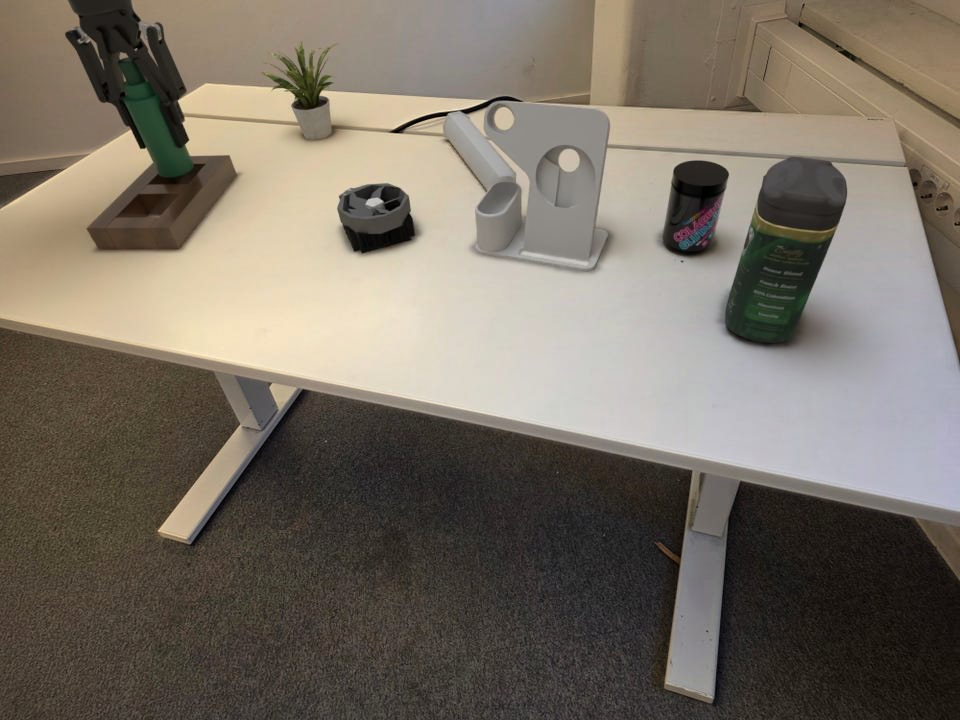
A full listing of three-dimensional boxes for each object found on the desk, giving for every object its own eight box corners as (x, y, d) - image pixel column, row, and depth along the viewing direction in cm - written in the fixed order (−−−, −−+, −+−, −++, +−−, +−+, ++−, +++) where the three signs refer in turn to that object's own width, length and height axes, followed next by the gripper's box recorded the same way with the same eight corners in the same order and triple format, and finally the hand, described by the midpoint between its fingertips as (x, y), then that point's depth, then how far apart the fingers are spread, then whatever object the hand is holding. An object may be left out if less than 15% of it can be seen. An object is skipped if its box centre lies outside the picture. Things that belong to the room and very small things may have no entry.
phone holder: (470, 253, 85) (459, 127, 72) (495, 216, 91) (489, 95, 79) (592, 274, 79) (602, 142, 67) (609, 233, 86) (622, 106, 74)
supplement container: (658, 253, 82) (670, 182, 75) (663, 227, 86) (675, 158, 79) (710, 260, 80) (728, 188, 73) (713, 232, 85) (730, 162, 77)
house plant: (334, 111, 125) (313, 24, 114) (372, 129, 117) (355, 38, 106) (272, 135, 118) (244, 45, 107) (309, 155, 111) (283, 61, 99)
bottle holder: (99, 251, 92) (85, 228, 89) (168, 177, 108) (158, 156, 105) (180, 251, 90) (168, 227, 87) (237, 176, 106) (229, 155, 104)
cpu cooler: (416, 206, 84) (345, 224, 82) (421, 241, 88) (354, 260, 85) (395, 175, 91) (329, 191, 89) (401, 208, 95) (338, 225, 93)
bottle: (152, 178, 98) (98, 67, 86) (168, 162, 102) (119, 54, 90) (185, 177, 97) (135, 65, 85) (199, 161, 101) (154, 52, 89)
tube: (526, 173, 92) (473, 112, 109) (495, 170, 90) (445, 109, 107) (517, 205, 96) (466, 141, 113) (486, 202, 93) (439, 138, 110)
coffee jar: (793, 353, 67) (855, 202, 54) (719, 337, 69) (761, 190, 57) (798, 301, 73) (854, 154, 60) (729, 288, 76) (769, 145, 63)
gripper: (167, -35, 82) (229, 132, 98) (42, -27, 84) (122, 136, 100) (140, -21, 76) (210, 153, 93) (7, -13, 79) (98, 156, 95)
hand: (164, 144), depth 96 cm, fingers closed on bottle, 6 cm apart
